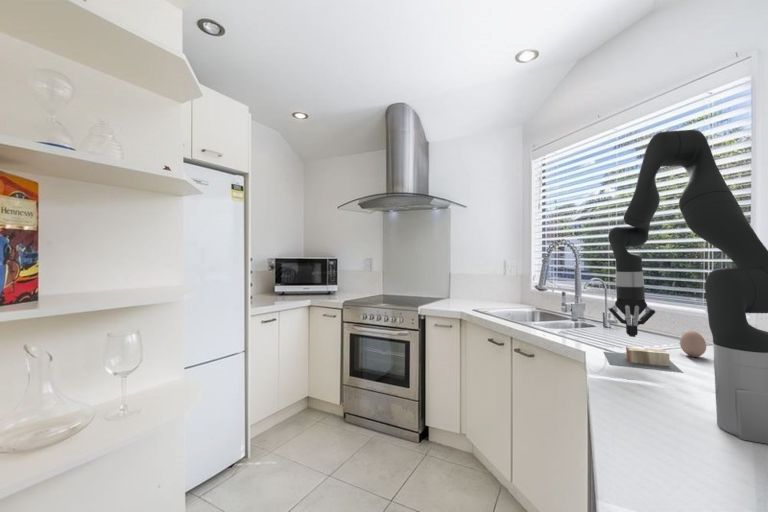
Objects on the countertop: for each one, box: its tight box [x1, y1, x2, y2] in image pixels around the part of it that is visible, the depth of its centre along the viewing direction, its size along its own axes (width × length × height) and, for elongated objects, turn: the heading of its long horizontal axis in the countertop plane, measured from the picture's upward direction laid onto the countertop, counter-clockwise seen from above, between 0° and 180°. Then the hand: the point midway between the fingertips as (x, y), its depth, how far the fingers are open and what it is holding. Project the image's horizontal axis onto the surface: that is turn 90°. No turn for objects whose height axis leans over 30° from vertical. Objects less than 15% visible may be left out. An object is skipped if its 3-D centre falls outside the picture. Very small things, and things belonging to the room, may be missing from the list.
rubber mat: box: [603, 351, 684, 374], centre depth 105 cm, size 16×18×1 cm
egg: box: [679, 329, 707, 358], centre depth 110 cm, size 7×7×9 cm
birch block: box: [625, 346, 671, 366], centre depth 104 cm, size 5×4×10 cm
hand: (632, 336), depth 106 cm, fingers closed
